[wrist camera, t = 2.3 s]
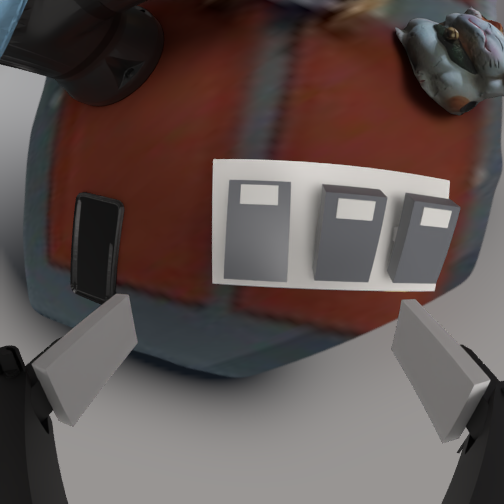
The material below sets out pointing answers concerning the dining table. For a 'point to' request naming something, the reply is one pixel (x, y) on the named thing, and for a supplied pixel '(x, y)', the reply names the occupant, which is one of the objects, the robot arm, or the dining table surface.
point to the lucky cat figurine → (456, 58)
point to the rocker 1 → (257, 230)
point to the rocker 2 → (348, 233)
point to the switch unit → (307, 214)
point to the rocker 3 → (422, 239)
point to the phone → (95, 246)
